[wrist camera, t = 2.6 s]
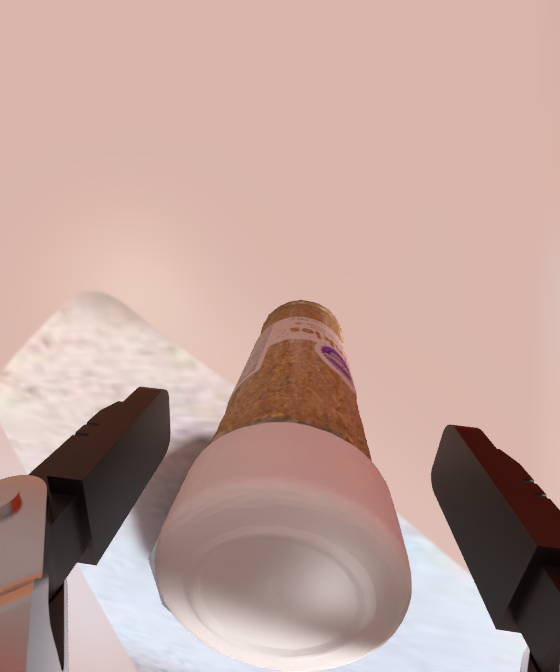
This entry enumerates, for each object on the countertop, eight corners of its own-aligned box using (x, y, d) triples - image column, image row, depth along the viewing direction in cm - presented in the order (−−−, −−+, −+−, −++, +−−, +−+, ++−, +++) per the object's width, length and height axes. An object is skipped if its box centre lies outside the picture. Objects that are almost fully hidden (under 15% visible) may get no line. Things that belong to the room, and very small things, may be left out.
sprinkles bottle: (358, 325, 17) (485, 588, 5) (312, 388, 19) (317, 715, 6) (286, 281, 17) (218, 442, 4) (245, 348, 19) (105, 615, 6)
